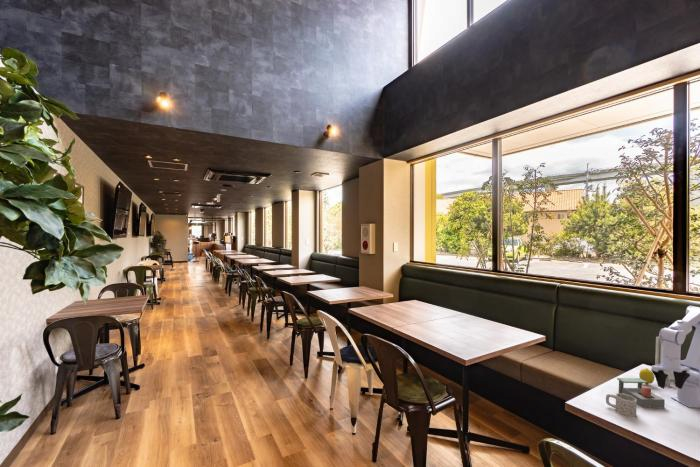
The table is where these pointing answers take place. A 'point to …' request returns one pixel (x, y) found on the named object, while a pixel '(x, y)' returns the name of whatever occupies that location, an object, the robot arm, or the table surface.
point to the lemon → (646, 376)
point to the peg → (645, 392)
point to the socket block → (636, 393)
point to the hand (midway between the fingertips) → (669, 387)
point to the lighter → (667, 381)
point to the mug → (624, 404)
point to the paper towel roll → (659, 357)
